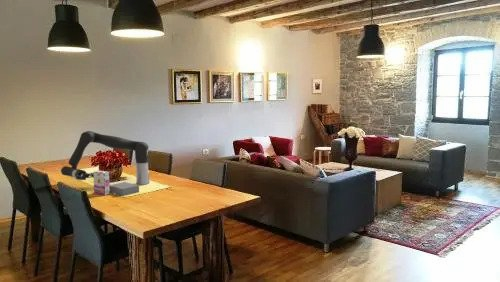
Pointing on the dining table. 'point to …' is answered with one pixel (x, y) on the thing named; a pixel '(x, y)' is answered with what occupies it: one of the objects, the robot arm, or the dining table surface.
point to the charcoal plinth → (124, 188)
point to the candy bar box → (101, 183)
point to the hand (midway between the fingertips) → (90, 177)
